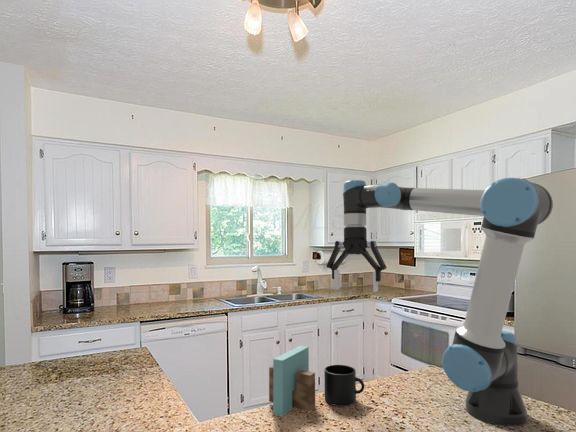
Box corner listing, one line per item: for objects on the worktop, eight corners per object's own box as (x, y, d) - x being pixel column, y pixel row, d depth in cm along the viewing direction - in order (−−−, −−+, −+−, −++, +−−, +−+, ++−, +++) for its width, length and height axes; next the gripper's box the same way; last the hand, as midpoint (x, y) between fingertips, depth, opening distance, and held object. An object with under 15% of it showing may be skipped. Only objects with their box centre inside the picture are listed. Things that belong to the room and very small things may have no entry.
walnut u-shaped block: (315, 407, 112) (315, 372, 113) (310, 411, 110) (310, 375, 110) (274, 397, 119) (274, 364, 120) (269, 401, 117) (269, 367, 117)
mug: (363, 409, 111) (362, 376, 112) (322, 404, 114) (321, 373, 115) (365, 396, 120) (365, 366, 121) (327, 392, 124) (327, 363, 124)
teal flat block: (300, 394, 122) (300, 345, 123) (308, 396, 121) (308, 346, 122) (273, 413, 108) (273, 359, 109) (282, 416, 107) (282, 360, 108)
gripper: (395, 226, 127) (396, 291, 126) (326, 227, 140) (326, 286, 139) (388, 225, 121) (389, 294, 120) (316, 227, 134) (317, 289, 132)
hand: (355, 290), depth 129 cm, fingers open, 13 cm apart
